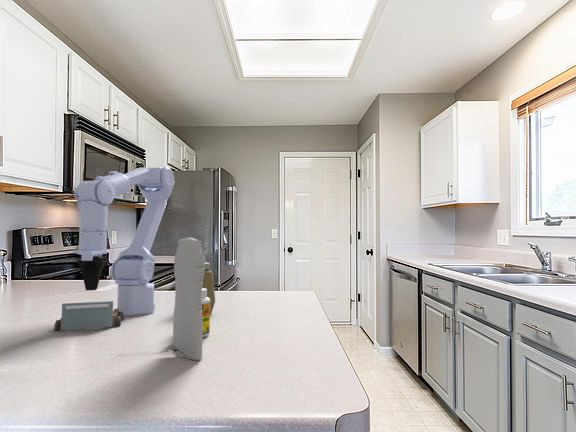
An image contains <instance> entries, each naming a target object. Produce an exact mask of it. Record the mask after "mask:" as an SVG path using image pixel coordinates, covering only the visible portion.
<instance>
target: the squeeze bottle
mask: <svg viewBox="0 0 576 432" xmlns="http://www.w3.org/2000/svg"><path fill="white" fill-rule="evenodd" d="M201 250H202V255H203V257H204V258H205V265H204V278H203V280H202V283H203V285H202V288H205V289H207V296H206V297H208V298H210V315H212V312H213V310H214V306H215V303H216V294H215V284H214V283H215V282H214V280H215V279H214V272H213V271H212V270H210V269H211V268H210V267H211V264H210V262H207V259H206V255H205V254H206V253H205V250H204V249H201Z"/></svg>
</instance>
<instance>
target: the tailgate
mask: <svg viewBox="0 0 576 432" xmlns="http://www.w3.org/2000/svg"><path fill="white" fill-rule="evenodd" d="M113 311H114V301H113V300H110V301H109V300H108V301H107V300H105V301H92V302H91V301H90V302H87V301H86V302H70V303H66V302H65V303H62V304H61V317H62V319H61V318H60V319H61V330H67V331H74V330H73V329H81V330H88V329H87V328H95V329H102V328H101V327H109V328H113V327H112V325H113Z"/></svg>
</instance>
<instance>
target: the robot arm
mask: <svg viewBox="0 0 576 432" xmlns="http://www.w3.org/2000/svg"><path fill="white" fill-rule="evenodd" d="M175 181H176V180H175V175H174V172H173V170H172V169H171V167H170V166H167V165H166V166H164V167H163V166H162V167H161V166H160V167H137V168H135V169H133V170H130V171H128V172H127V173H122V172H118V171H116V170H115V171H114V170H113V171H109V172H108V175H105V176H103V175H102V176H100V175H98V176H96V177H95V179H94V180H84V181H82V182H80V183H79V184H78V185H77V187H76V190H75V191H73V193H74V199H75V200H76V202H77V210H78V211H79V232H78V233H79V236H78V250H77V249H75V250H74V249H73V250H72V254H77V255H81V258H80V259H77V260H76V261H77V262H76V263H77V265H78V266H79V268H80V271H81V274H82V279H83V283H84V288H85V292H86V291H96V290H97V289H98V287H99V283H100V278H101V275H102V271H103V268H104V266H105V265H106V262H107V258H102V257H103V255H106V254H108V250H107V246H108V245H107V243H108V242H107V240H108V217H109V216H108V215H109V214H108V213H109V205H111V204H112V203H113V201H114V199H116V198H118V197H120V196H122V195H124V194H127V193H128V192H129V190H130V187H132V186H135V185H137V186H138V188H139V191H140V194H141V195H142V197H143V198H144V199H146V200H147V202H146V205H145V207H144V209H143V212H142V215H141V217H140V219H139V222H138V226H137V227H136V231H135V233H134V234H133V238H132V240H131V243H130V246H129V247H127V248H126V249H124V250H122V251H121V252H119V254H118V257H117V258H116V259H115V260H114V261H113V263H112V265H111V268H110V274H111V278H112V280H113V281H115V284H116V285H117V299H116V300H117V302H116V304H117V307H116V309H119V312H123V316H136V315H147V314H148V315H149V314H150V315H151V314H154V311H155V306H156V305H155V304H156V303H154V300H155V299H154V296H155V283H151V282H150V281H151V280H152V278H153V277H154V274H155V264H156V258H155V256H154V255H153V253H152V252H150V251H151V249H152V246H153V243H154V241H155V238H156V235H157V232H158V228H159V226H160V224H161V221H162V218H163V215H164V212H165V209H166V206H167V203H168V199H169V198H170V196H171V194H172V191H173V189H174V186H175V183H176V182H175Z"/></svg>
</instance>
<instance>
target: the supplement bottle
mask: <svg viewBox="0 0 576 432" xmlns="http://www.w3.org/2000/svg"><path fill="white" fill-rule="evenodd" d="M206 296H207V289H205V288H202V318H203V331H202V339H203V338H206V337H208V336H209V335H210V329H211V328H210V326H211V325H210V324H211V323H210V322H211V314H210V298H208V297H206Z"/></svg>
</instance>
